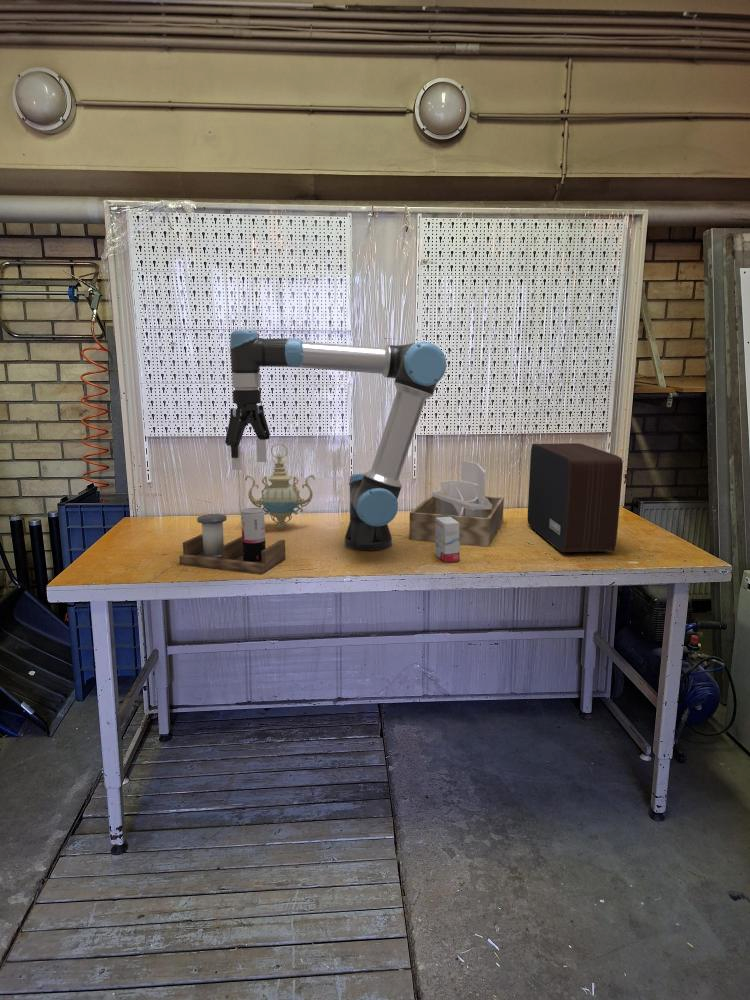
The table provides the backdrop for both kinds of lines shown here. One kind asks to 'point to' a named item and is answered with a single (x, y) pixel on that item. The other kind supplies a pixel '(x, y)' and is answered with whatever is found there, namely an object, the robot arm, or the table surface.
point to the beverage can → (253, 534)
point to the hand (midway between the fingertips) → (250, 465)
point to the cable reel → (212, 534)
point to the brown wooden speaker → (575, 496)
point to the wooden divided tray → (232, 556)
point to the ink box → (447, 539)
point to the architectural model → (464, 493)
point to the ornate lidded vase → (280, 493)
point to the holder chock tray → (469, 527)
